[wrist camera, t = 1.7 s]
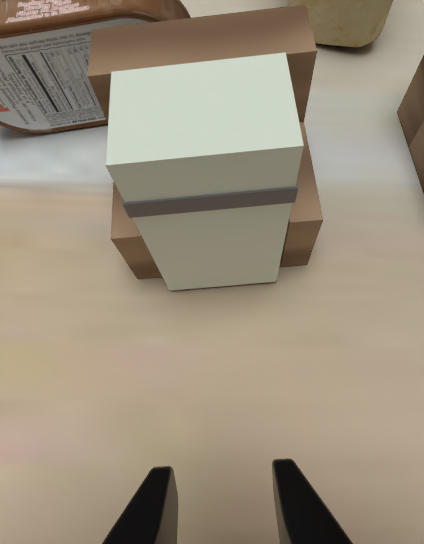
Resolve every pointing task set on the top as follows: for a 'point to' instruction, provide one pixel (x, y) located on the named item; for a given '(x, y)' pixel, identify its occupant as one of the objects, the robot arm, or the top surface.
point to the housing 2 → (415, 120)
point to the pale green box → (207, 165)
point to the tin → (60, 57)
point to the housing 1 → (207, 47)
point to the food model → (345, 20)
